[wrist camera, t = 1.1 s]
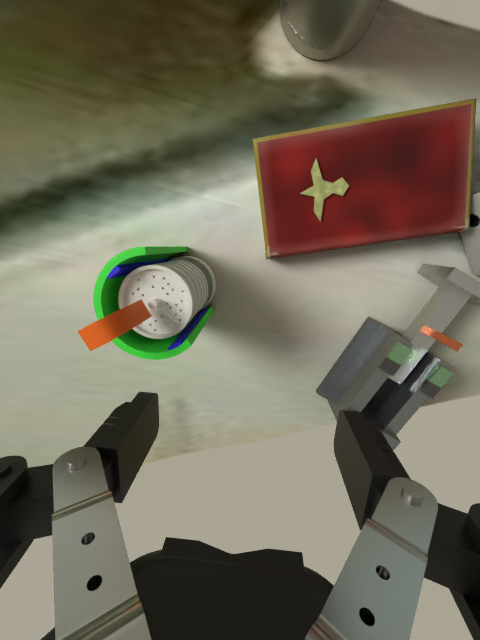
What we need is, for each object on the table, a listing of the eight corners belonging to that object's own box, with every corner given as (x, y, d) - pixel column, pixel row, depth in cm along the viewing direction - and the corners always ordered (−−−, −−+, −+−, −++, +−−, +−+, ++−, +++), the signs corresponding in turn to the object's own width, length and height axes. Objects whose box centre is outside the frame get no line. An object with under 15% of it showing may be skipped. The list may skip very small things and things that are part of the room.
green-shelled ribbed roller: (232, 296, 37) (208, 344, 19) (184, 331, 38) (122, 405, 21) (187, 236, 35) (116, 230, 18) (139, 276, 37) (32, 305, 19)
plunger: (423, 263, 34) (472, 269, 26) (472, 292, 34) (534, 307, 26) (357, 354, 37) (383, 384, 29) (402, 380, 37) (439, 415, 30)
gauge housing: (368, 316, 36) (393, 333, 29) (433, 354, 37) (473, 379, 30) (315, 390, 39) (327, 421, 32) (377, 423, 40) (401, 460, 33)
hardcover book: (445, 232, 34) (471, 231, 29) (265, 258, 36) (267, 259, 31) (449, 116, 31) (478, 96, 26) (253, 151, 33) (252, 137, 28)
